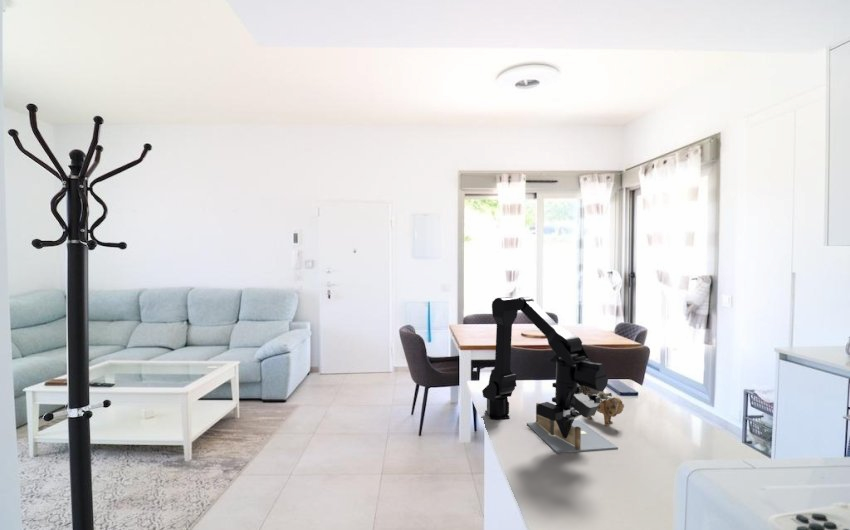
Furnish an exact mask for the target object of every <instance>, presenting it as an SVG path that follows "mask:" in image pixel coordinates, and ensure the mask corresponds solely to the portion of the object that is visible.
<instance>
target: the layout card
mask: <svg viewBox="0 0 850 530" xmlns="http://www.w3.org/2000/svg"><path fill="white" fill-rule="evenodd" d="M526 424H527V426H528V427H529V428H530V429H531V430H533V431H534V432H535V433H536V435H538V436H539V437H540V438H541V440H543V441H544V442H545V443H546V444H547V445H548V446H549V447H550V448H551V449H553V450H554V452H556V453H557V454H565V453H575V452H576V453H579V452H590V451H603V450H604V451H605V450H606V451H607V450H616V449H617V450H618V449H619V447H618V446H617V445H616V444H614V443H613V442H611V441H610V440H608V439H607V438H605V437H604V436H603V435H602V434H600V433H598V431H595V430H594V429H593V428H592V427H590V426H588V425H587V424H586V423H584V422H583V421H581V419H574V421H573V423H572V426H573V427H580V428H581V449H576V448H575V446H574V445H572V444H570V443H568V442H567V441H565V440H563V439H561V438H559V437H558V436H556V435H551V433H549V432H548V431H547V430H546V429H545V428H543V427H542V426H541V425H540V424H539V423H538V422H536V421H535V422H534V421H533V422H526Z"/></svg>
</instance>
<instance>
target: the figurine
mask: <svg viewBox="0 0 850 530" xmlns="http://www.w3.org/2000/svg"><path fill="white" fill-rule="evenodd" d="M578 386H581V385H579V384H578ZM581 388H582V393H583V394H584V395H589V396H591V395H594V394H596V395H597V396H599V397H600V400H607V399H610V398H613V394H612V392H606V393H605V389H604V390H603V391H597V390H594V389H591V388H587V387H584V386H581ZM589 396H588V397H589ZM609 397H610V398H609Z"/></svg>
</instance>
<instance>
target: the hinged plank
mask: <svg viewBox="0 0 850 530" xmlns="http://www.w3.org/2000/svg"><path fill="white" fill-rule="evenodd" d="M554 435H556V436H558V437H559V438H561V439H563V440H565V441H567V442H568V443H570V444H572V445H574V446H575V448H576V449H581V428H580V427H573V426H571V428H570V431H569V433H568V436H567V438H563V437H562V434H561V431H560V429H559V427H558V424H557V422H556V421H554Z"/></svg>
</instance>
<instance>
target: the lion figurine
mask: <svg viewBox="0 0 850 530" xmlns="http://www.w3.org/2000/svg"><path fill="white" fill-rule="evenodd" d="M624 408H625V404H624V403H623V401H622V399H621V398H620V397H617V396H616V397H615V396H614V397H610V398H609V399H607V400H606V399H603V400H600V409H598V410H597V411H596V412H598V413H600V414H603V418H604V419H603V421H604V426H606V427H609V426H610V424H611V425H612V424H613V423H614V422H613V421H611V420H612V418H615V417H616V416H617V415H619V414H620V415H621V414H622V412H623V411H624ZM587 419H589V420H592V419H593V416H590V417H588V418H587Z"/></svg>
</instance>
